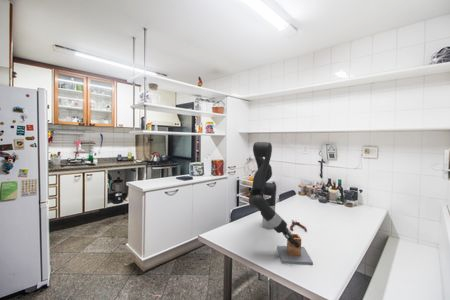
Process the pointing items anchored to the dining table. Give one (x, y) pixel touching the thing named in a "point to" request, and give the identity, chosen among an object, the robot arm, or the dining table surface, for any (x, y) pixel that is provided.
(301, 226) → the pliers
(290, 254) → the collar
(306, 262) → the post base
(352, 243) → the dining table surface
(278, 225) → the robot arm
